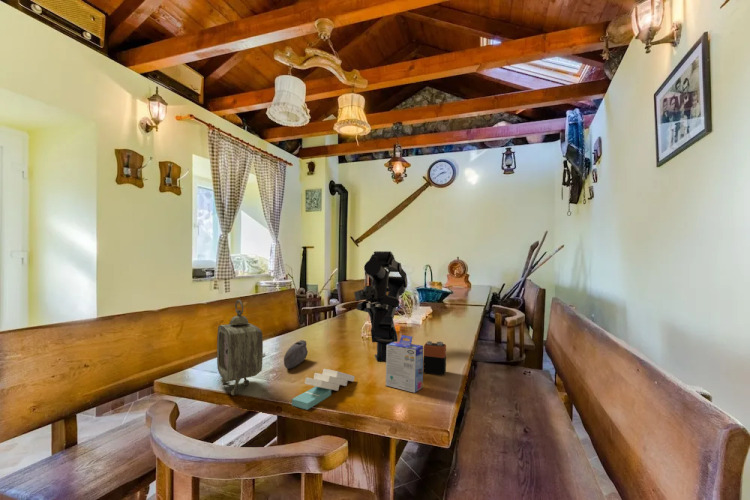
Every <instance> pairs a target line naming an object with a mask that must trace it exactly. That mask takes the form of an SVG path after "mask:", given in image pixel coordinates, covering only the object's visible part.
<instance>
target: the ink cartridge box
mask: <svg viewBox="0 0 750 500" xmlns="http://www.w3.org/2000/svg"><path fill="white" fill-rule="evenodd" d="M405 339H408V340H405ZM412 341H413V336H411V335H403V334H402V335H401V337H400V340H399V341H398V342H392V343H389V344H387V351H386V361H385V365H386V366H385V386H386V387H391V388H395V389H399V390H403V391H406V392H411V393H415V394H416V393H417V392H418V391H419V390H422V389H423V387H424V378H423V377H424V345H421V344H413V342H412Z"/></svg>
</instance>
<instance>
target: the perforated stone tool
mask: <svg viewBox="0 0 750 500" xmlns="http://www.w3.org/2000/svg"><path fill="white" fill-rule="evenodd" d="M307 356H308V348H307V341H306V340H303V339H302V340H299V341H296V342H295V343H293V344H292V345H291V346H290V347H288V349H287V351H286V352H285V353H284V358H283V366H284V368H286V369H287V370H291V369H293V368H295V367H297V366H299V365H300V364H302V363H303V362H304V361H305V359H306V358H307Z"/></svg>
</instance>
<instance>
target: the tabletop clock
mask: <svg viewBox="0 0 750 500" xmlns="http://www.w3.org/2000/svg"><path fill="white" fill-rule="evenodd" d="M238 303H239V304H240V306H241V309H238ZM234 308H235V312H236V315H235V316H233V317H232V318H231V319H230V321H229V323H228V324H220V325H218V326H217V335H216V336H217V338H216V340H217V342H216V364H217V370H218V371H217V372H218V373H219V375H220V377H221V378H222V379H221V383H223V384H225V383H229V382H234V381H235V382H234V387H233V389H232V390H231V391H230V392H231V393H230V394H231V396H236V395H237V394H238V390H237V388H238V385H239V383H240V381H241V380H242V379H243V385H244V386H248V385H249V384H250V380H249V379H247V378H252V377H256V376H257V375H259V374H260V373H261V372H262V370H263V359H264V357H263V352H264V346H263V345H264V344H263V342H264V340H263V339H264V338H263V332H262V329H261V328H260V327H258V326H256V325H254V324H252V323H249V319H248V317H247V316H244V315H243V313H244V304H243V302H242V300H241V299H237V300H236V301H235V306H234Z"/></svg>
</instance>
